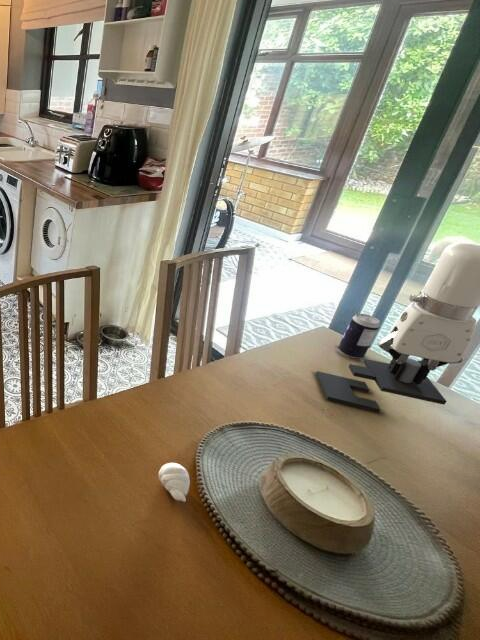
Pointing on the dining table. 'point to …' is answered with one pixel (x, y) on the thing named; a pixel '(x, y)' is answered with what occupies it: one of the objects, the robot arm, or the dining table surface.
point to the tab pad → (399, 380)
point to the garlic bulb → (175, 480)
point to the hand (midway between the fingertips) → (403, 377)
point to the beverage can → (359, 335)
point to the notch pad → (345, 391)
